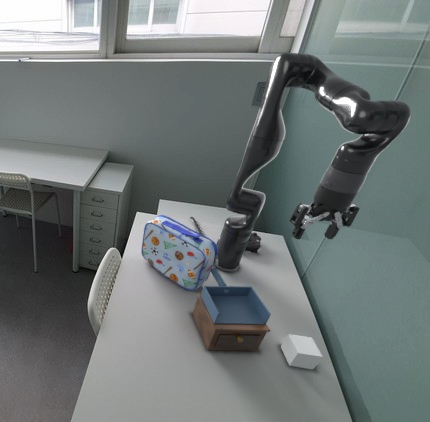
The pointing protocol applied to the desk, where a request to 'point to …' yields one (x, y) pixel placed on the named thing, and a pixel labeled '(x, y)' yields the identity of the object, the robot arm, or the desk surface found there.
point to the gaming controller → (253, 243)
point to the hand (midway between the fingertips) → (311, 237)
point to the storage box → (227, 331)
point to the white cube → (301, 351)
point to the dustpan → (233, 303)
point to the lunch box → (179, 252)
